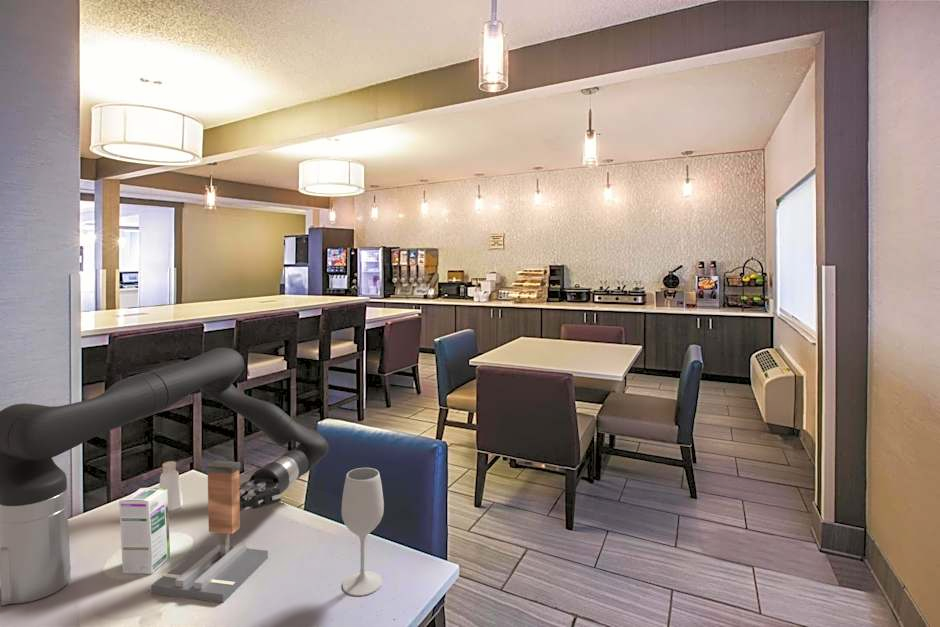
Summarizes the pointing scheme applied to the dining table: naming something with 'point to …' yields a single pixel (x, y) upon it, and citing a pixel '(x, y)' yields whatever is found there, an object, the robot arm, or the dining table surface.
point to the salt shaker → (171, 485)
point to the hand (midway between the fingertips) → (228, 512)
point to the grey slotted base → (210, 573)
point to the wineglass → (362, 522)
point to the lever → (223, 500)
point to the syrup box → (144, 530)
